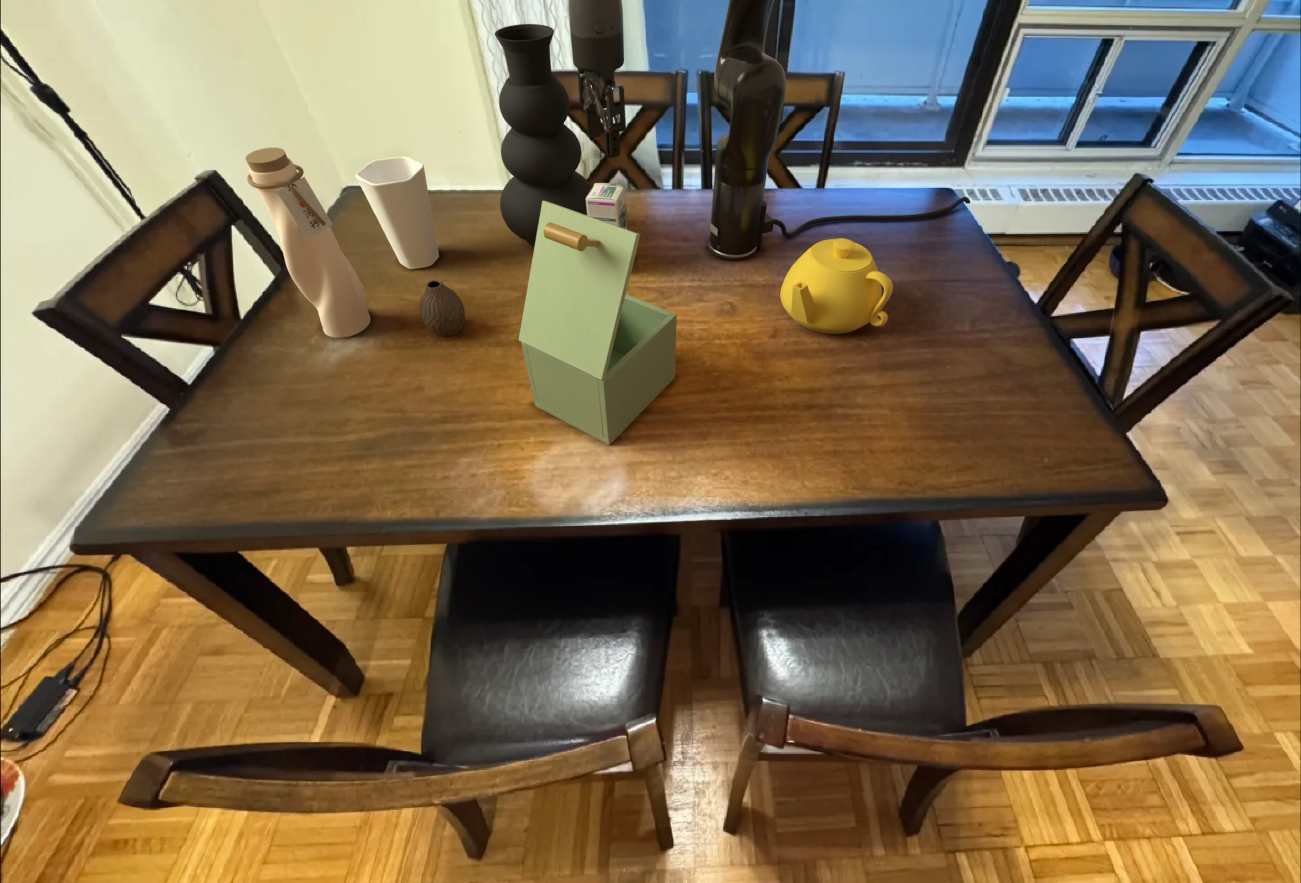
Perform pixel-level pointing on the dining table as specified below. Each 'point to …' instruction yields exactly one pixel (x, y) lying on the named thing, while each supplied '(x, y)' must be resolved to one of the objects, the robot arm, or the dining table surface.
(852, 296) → the teapot
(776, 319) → the dining table surface
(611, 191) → the syrup box
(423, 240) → the cup
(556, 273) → the lid
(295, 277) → the water bottle
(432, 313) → the vase
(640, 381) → the chest
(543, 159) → the vase
